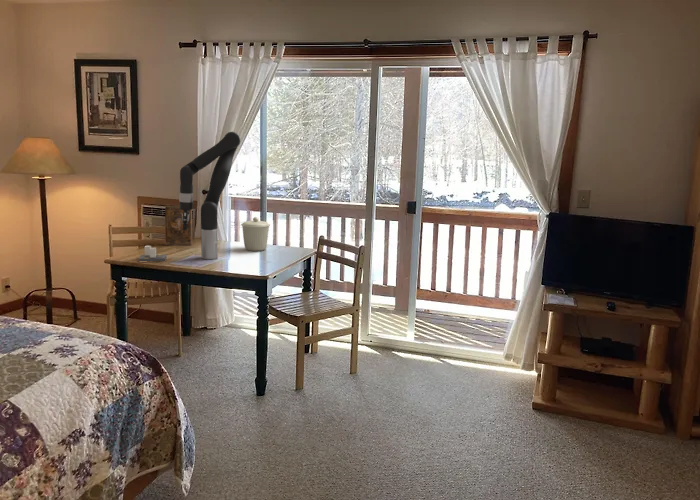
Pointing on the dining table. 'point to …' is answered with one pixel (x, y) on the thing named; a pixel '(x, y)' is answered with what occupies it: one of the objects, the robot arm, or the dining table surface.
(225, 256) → the dining table surface
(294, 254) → the dining table surface
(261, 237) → the canister
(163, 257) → the switch board
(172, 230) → the book
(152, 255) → the tab
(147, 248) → the tab
